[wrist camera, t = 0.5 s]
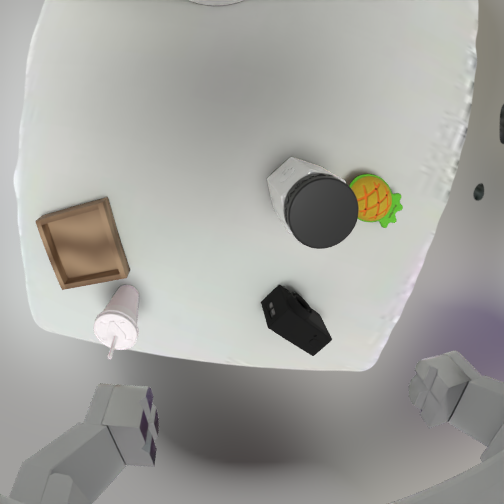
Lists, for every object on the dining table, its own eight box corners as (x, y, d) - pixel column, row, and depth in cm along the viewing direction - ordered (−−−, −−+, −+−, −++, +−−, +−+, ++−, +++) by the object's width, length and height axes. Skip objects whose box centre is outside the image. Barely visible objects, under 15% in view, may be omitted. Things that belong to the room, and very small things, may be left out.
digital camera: (325, 310, 55) (338, 335, 48) (302, 330, 56) (313, 357, 50) (284, 278, 51) (295, 303, 45) (260, 301, 52) (268, 328, 46)
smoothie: (113, 311, 49) (92, 371, 37) (105, 277, 47) (78, 334, 34) (150, 310, 50) (137, 372, 38) (144, 276, 47) (126, 335, 35)
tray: (42, 215, 41) (35, 221, 39) (107, 197, 41) (102, 202, 39) (67, 281, 46) (62, 289, 44) (130, 269, 47) (126, 277, 44)
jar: (301, 144, 42) (333, 158, 31) (336, 186, 45) (374, 212, 34) (253, 188, 44) (269, 217, 33) (291, 227, 47) (316, 265, 36)
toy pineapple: (351, 161, 44) (368, 169, 39) (400, 190, 47) (418, 200, 42) (330, 203, 46) (344, 214, 41) (380, 227, 49) (396, 240, 44)
